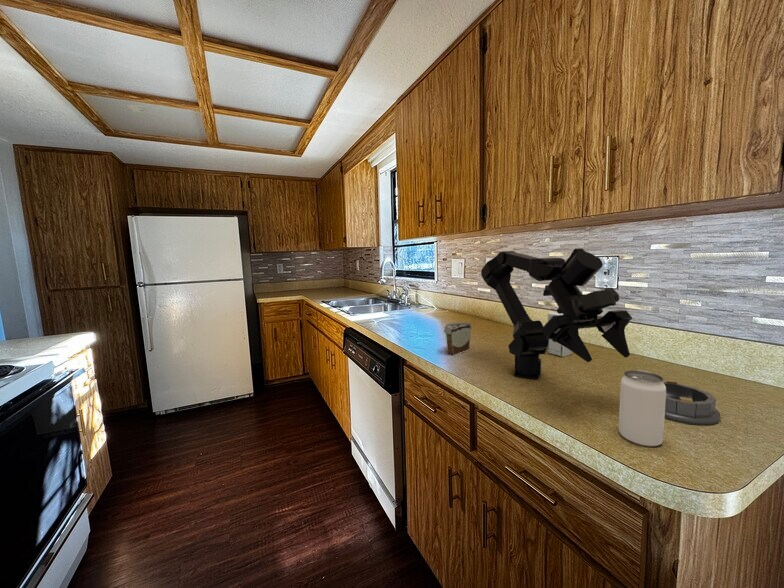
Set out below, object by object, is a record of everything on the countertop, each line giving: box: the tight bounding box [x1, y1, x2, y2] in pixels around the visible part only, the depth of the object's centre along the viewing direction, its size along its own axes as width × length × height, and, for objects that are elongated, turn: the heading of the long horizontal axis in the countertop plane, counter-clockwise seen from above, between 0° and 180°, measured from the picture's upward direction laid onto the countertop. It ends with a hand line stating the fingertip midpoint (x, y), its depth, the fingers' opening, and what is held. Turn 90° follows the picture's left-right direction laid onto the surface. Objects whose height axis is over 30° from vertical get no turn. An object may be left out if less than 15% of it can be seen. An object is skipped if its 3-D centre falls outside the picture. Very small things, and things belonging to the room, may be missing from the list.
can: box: [618, 369, 666, 448], centre depth 57 cm, size 6×6×12 cm
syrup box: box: [546, 311, 573, 358], centre depth 107 cm, size 6×6×14 cm
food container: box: [443, 322, 473, 356], centre depth 115 cm, size 12×6×10 cm, turn 130°
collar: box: [663, 379, 721, 426], centre depth 67 cm, size 13×13×5 cm
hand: (609, 358), depth 64 cm, fingers open, 9 cm apart
